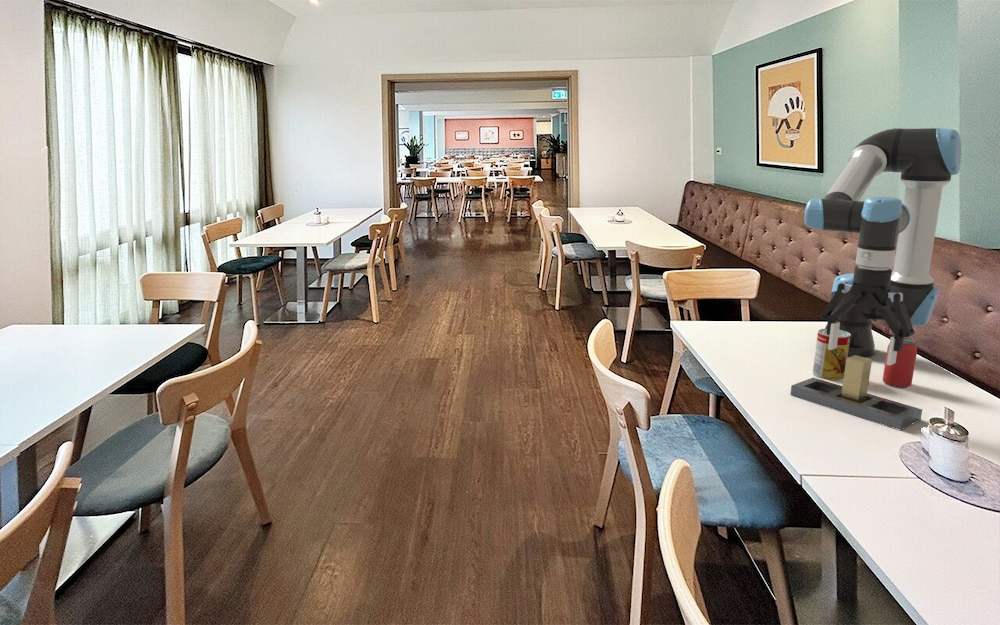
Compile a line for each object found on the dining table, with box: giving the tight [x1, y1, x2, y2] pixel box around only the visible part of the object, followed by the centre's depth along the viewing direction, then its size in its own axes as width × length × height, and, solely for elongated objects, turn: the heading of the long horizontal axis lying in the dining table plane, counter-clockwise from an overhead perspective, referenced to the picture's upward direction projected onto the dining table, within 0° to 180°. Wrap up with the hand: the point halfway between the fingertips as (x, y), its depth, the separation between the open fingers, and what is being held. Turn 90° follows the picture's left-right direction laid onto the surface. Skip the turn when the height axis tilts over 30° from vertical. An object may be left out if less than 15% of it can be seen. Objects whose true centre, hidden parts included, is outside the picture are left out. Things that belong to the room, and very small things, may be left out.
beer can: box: [882, 337, 918, 389], centre depth 176 cm, size 7×7×12 cm
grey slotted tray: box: [790, 377, 923, 431], centre depth 162 cm, size 10×26×2 cm, turn 37°
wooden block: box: [841, 355, 873, 404], centre depth 161 cm, size 4×4×12 cm
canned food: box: [812, 328, 851, 381], centre depth 182 cm, size 8×8×12 cm
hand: (860, 356), depth 160 cm, fingers open, 13 cm apart
